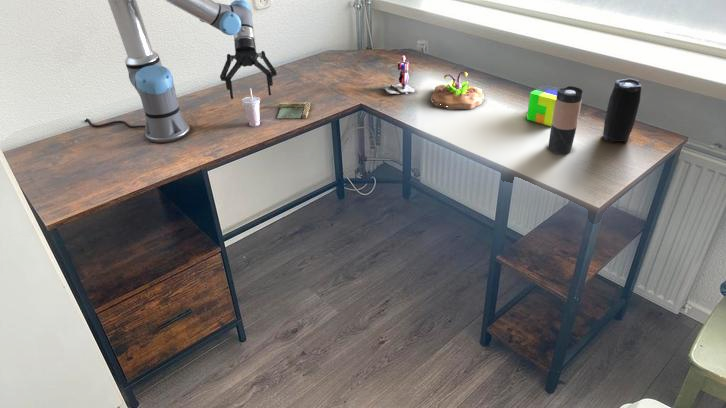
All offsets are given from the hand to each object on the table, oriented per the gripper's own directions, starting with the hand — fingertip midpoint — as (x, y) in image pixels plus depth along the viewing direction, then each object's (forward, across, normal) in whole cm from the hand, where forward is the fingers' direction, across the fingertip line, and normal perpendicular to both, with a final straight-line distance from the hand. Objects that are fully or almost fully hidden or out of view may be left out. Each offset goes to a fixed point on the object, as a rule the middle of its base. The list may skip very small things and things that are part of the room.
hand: (250, 95), depth 199 cm
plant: (+7, +78, +7) cm, 79 cm away
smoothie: (+9, 0, +5) cm, 10 cm away
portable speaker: (+38, +119, -24) cm, 127 cm away
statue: (-3, +58, +17) cm, 60 cm away
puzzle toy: (+24, +104, -10) cm, 107 cm away
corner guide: (+4, +14, +10) cm, 18 cm away
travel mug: (+40, +98, -26) cm, 109 cm away
